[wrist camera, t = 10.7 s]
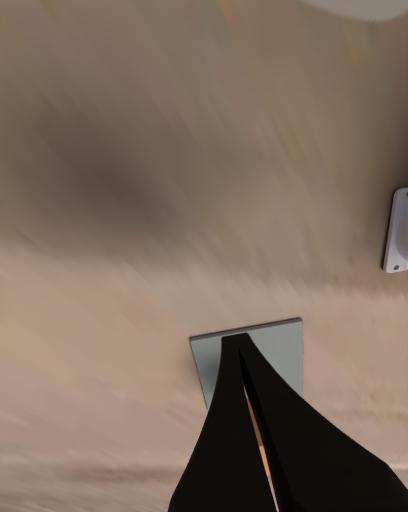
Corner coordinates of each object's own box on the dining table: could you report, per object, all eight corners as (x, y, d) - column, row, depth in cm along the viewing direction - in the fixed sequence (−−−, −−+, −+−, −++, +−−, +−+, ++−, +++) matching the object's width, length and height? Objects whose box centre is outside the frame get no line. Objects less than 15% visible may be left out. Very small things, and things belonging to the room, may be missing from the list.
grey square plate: (301, 317, 24) (303, 321, 24) (301, 393, 29) (303, 397, 28) (190, 337, 24) (190, 341, 24) (208, 409, 29) (209, 414, 28)
